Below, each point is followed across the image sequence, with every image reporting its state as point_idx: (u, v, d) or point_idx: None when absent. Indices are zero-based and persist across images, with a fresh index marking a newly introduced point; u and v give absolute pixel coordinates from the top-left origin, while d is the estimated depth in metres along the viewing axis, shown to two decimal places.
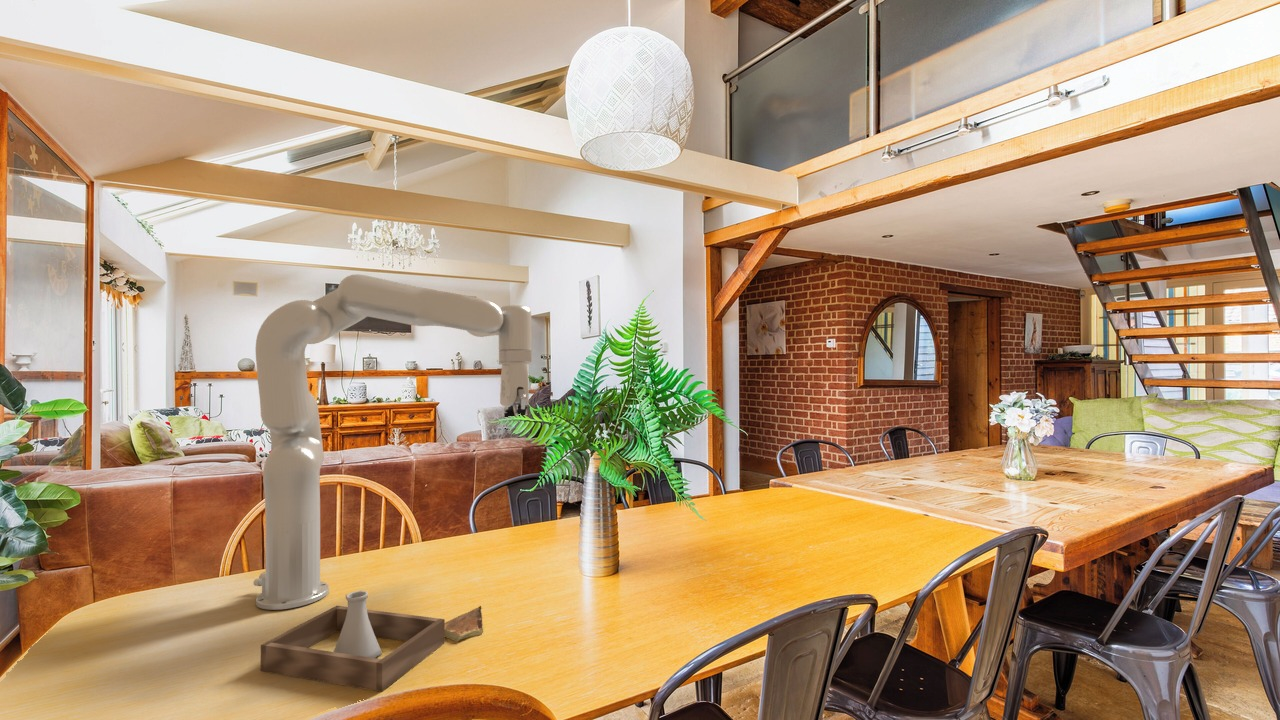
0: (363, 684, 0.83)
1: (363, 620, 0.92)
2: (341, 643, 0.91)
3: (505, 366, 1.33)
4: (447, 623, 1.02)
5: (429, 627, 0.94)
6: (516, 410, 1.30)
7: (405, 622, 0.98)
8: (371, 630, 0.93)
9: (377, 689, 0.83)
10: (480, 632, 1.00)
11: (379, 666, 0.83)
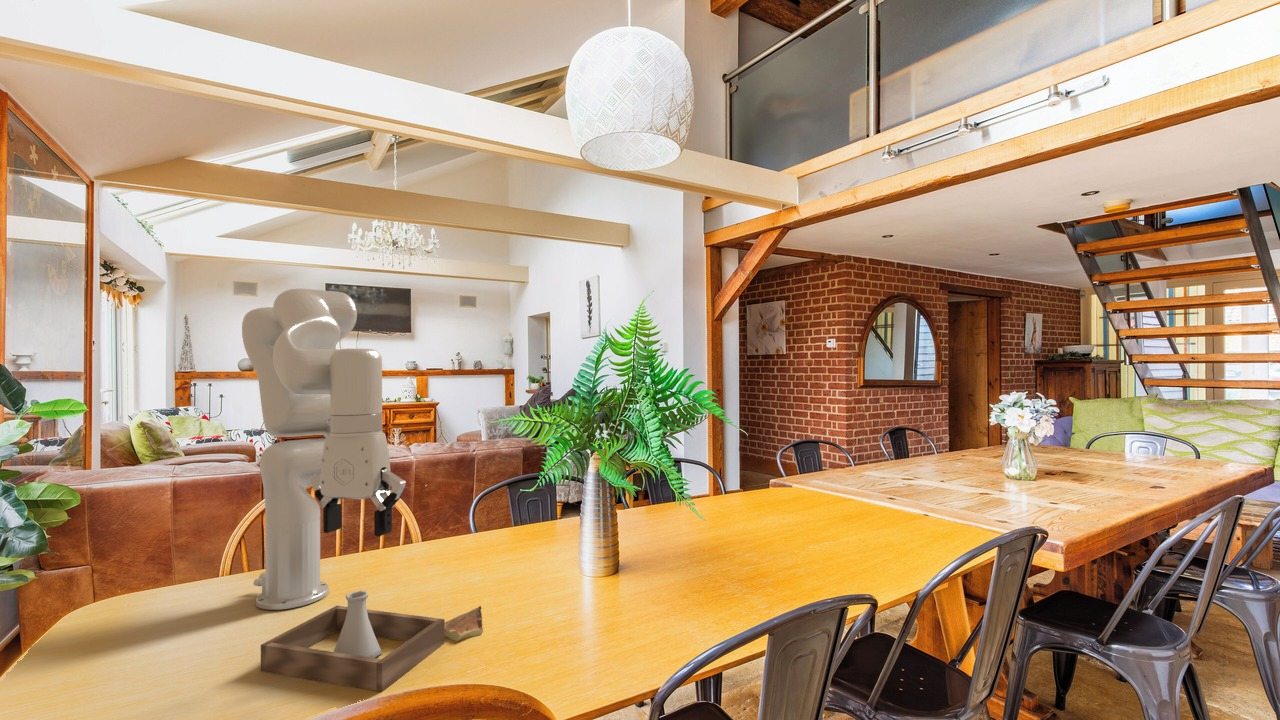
0: (363, 684, 0.83)
1: (363, 620, 0.92)
2: (341, 643, 0.91)
3: (352, 439, 0.90)
4: (447, 623, 1.02)
5: (429, 627, 0.94)
6: (383, 502, 0.90)
7: (405, 622, 0.98)
8: (371, 630, 0.93)
9: (377, 689, 0.83)
10: (480, 632, 1.00)
11: (379, 666, 0.83)
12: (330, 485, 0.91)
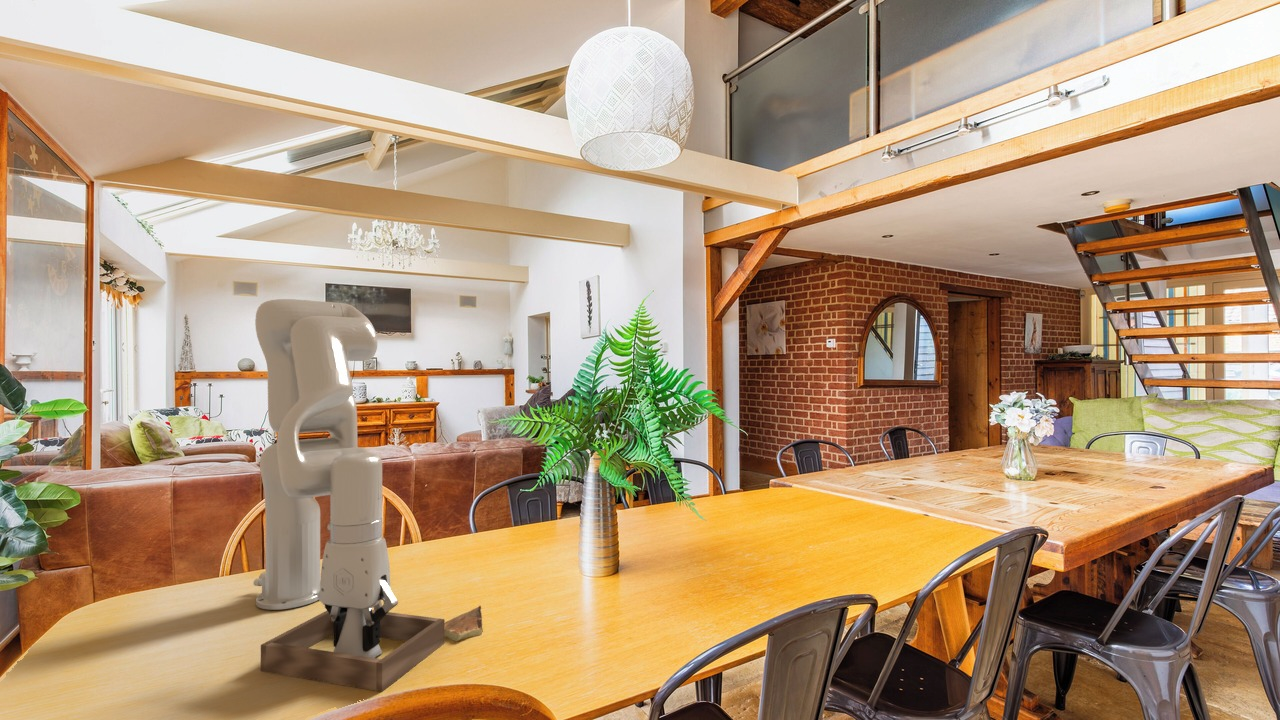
0: (363, 684, 0.83)
1: (363, 620, 0.92)
2: (341, 643, 0.91)
3: (352, 549, 0.90)
4: (447, 623, 1.02)
5: (429, 627, 0.94)
6: (372, 618, 0.91)
7: (405, 622, 0.98)
8: None
9: (377, 689, 0.83)
10: (480, 631, 1.00)
11: (379, 666, 0.83)
12: (330, 593, 0.91)
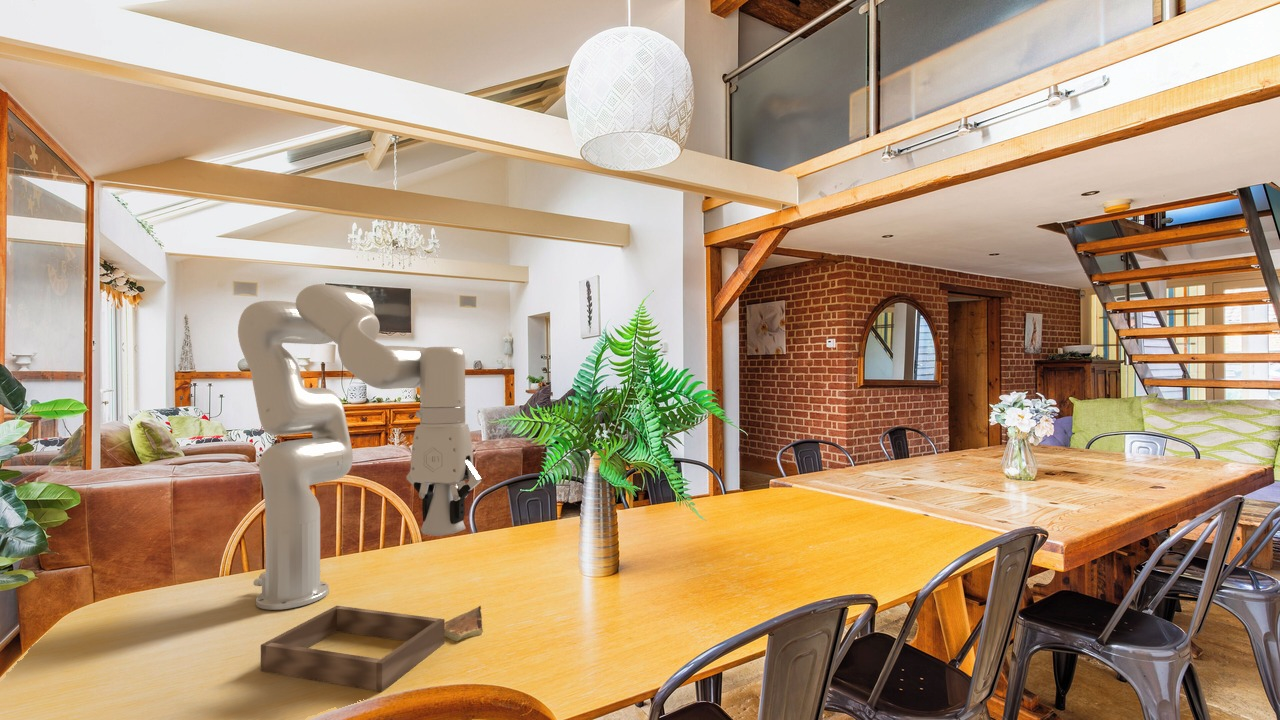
0: (363, 684, 0.83)
1: (449, 497, 1.01)
2: (430, 516, 0.99)
3: (441, 429, 0.99)
4: (447, 623, 1.02)
5: (429, 627, 0.94)
6: (459, 494, 0.99)
7: (405, 622, 0.98)
8: None
9: (377, 689, 0.83)
10: (480, 632, 1.00)
11: (379, 666, 0.83)
12: (420, 471, 1.00)
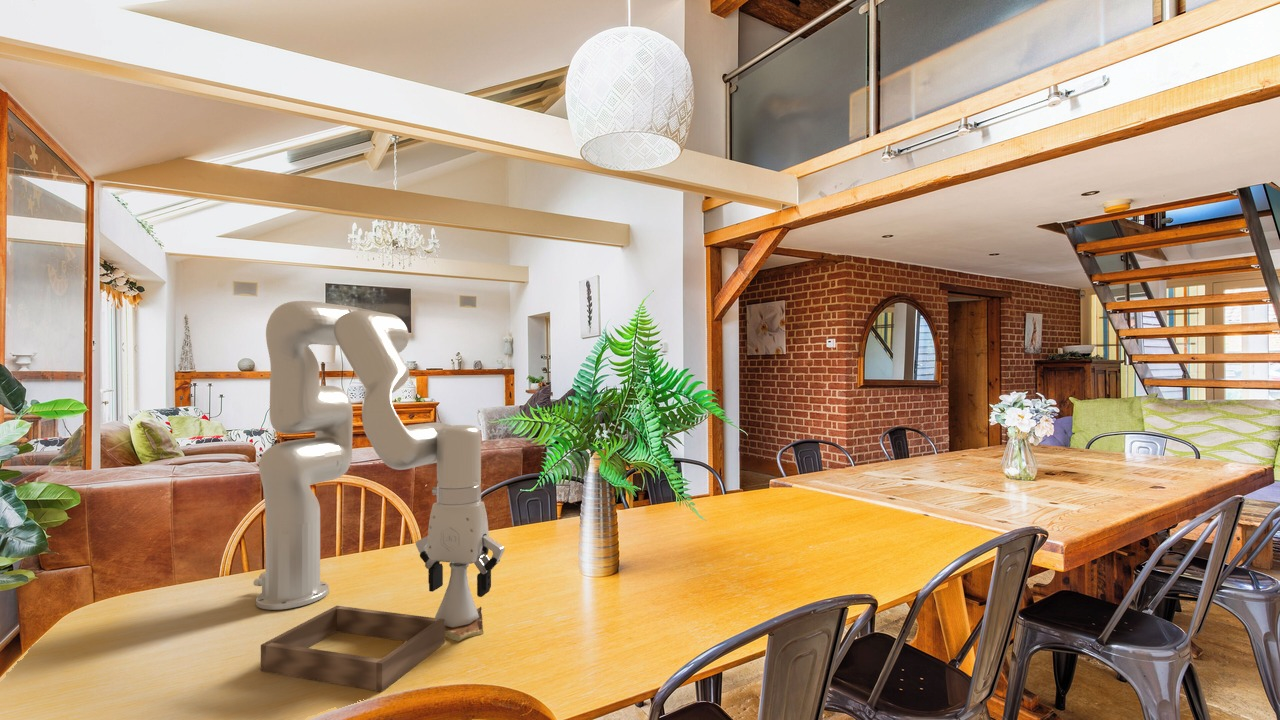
0: (363, 684, 0.83)
1: (464, 586, 1.03)
2: (446, 606, 1.01)
3: (458, 509, 1.00)
4: None
5: (429, 627, 0.94)
6: (484, 566, 1.01)
7: (405, 622, 0.98)
8: (470, 596, 1.03)
9: (377, 689, 0.83)
10: (480, 633, 1.00)
11: (379, 666, 0.83)
12: (437, 550, 1.01)
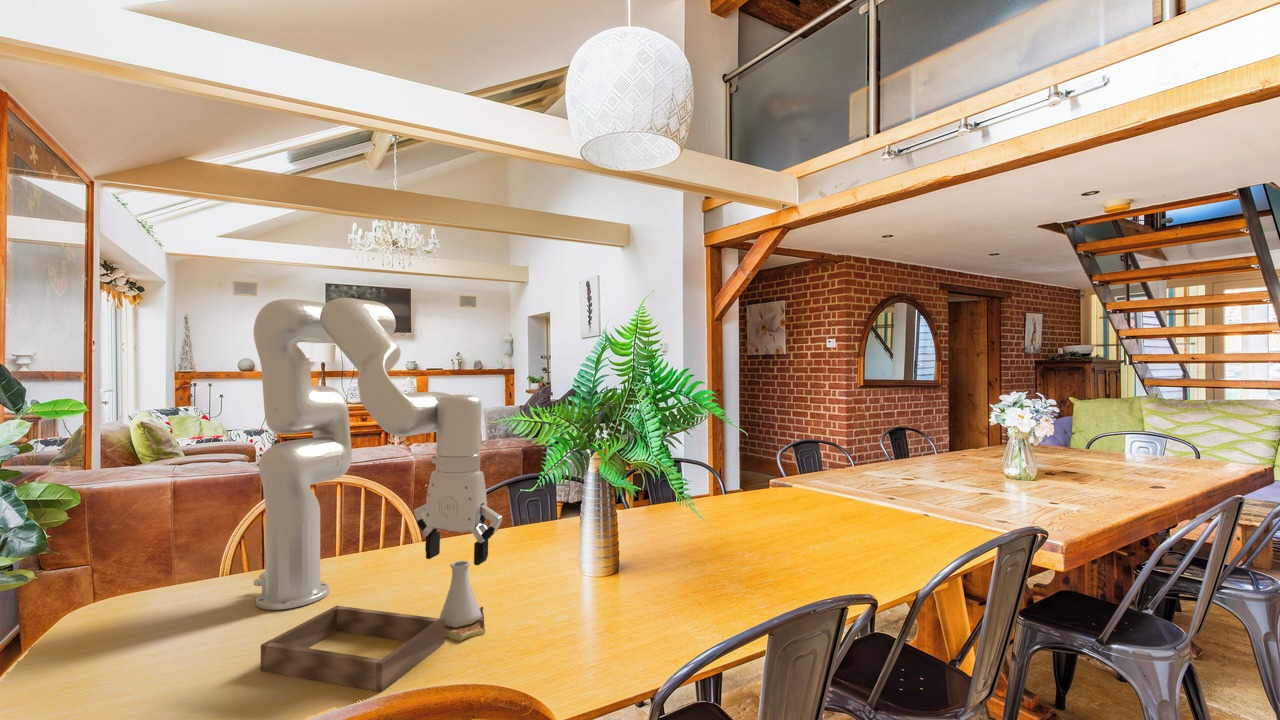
0: (363, 684, 0.83)
1: (466, 586, 1.03)
2: (448, 606, 1.01)
3: (457, 478, 1.00)
4: None
5: (429, 627, 0.94)
6: (482, 535, 1.01)
7: (405, 622, 0.98)
8: (473, 596, 1.03)
9: (377, 689, 0.83)
10: (482, 632, 1.00)
11: (379, 666, 0.83)
12: (435, 517, 1.01)
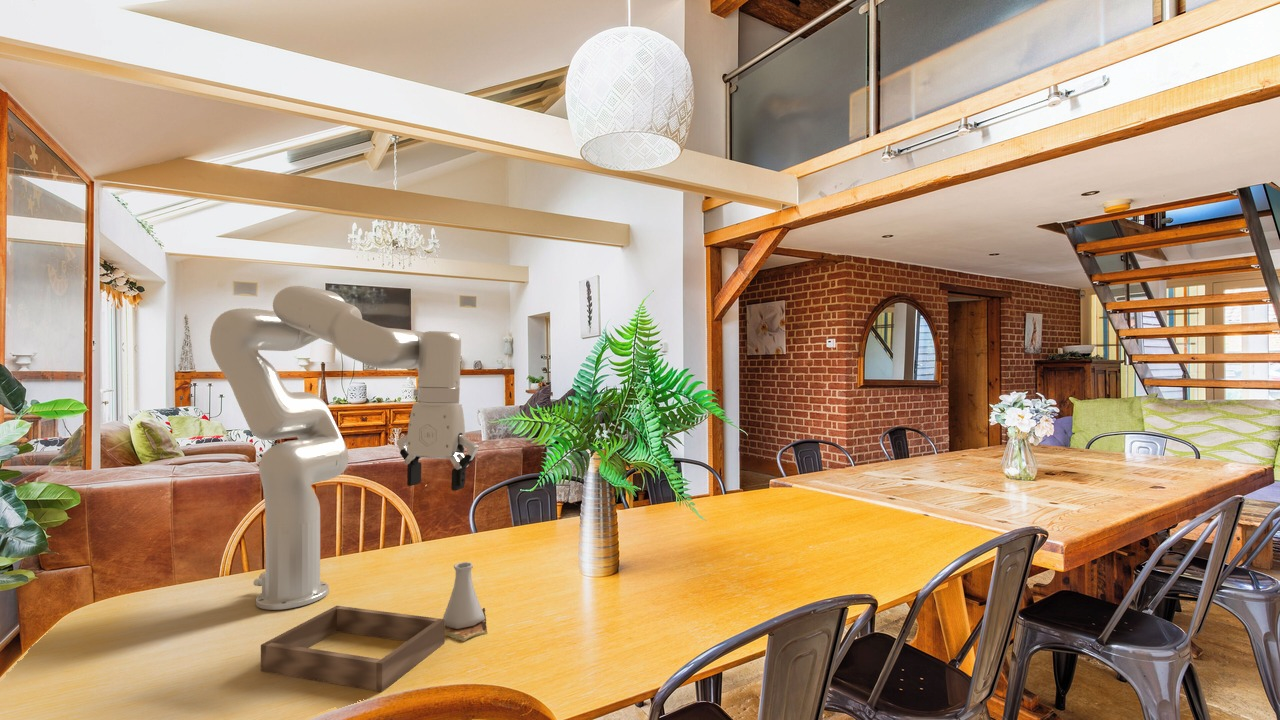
0: (363, 684, 0.83)
1: (469, 588, 1.03)
2: (451, 607, 1.02)
3: (436, 408, 1.07)
4: None
5: (429, 627, 0.94)
6: (459, 462, 1.07)
7: (405, 622, 0.98)
8: (476, 597, 1.03)
9: (377, 689, 0.83)
10: None
11: (379, 666, 0.83)
12: (415, 445, 1.08)
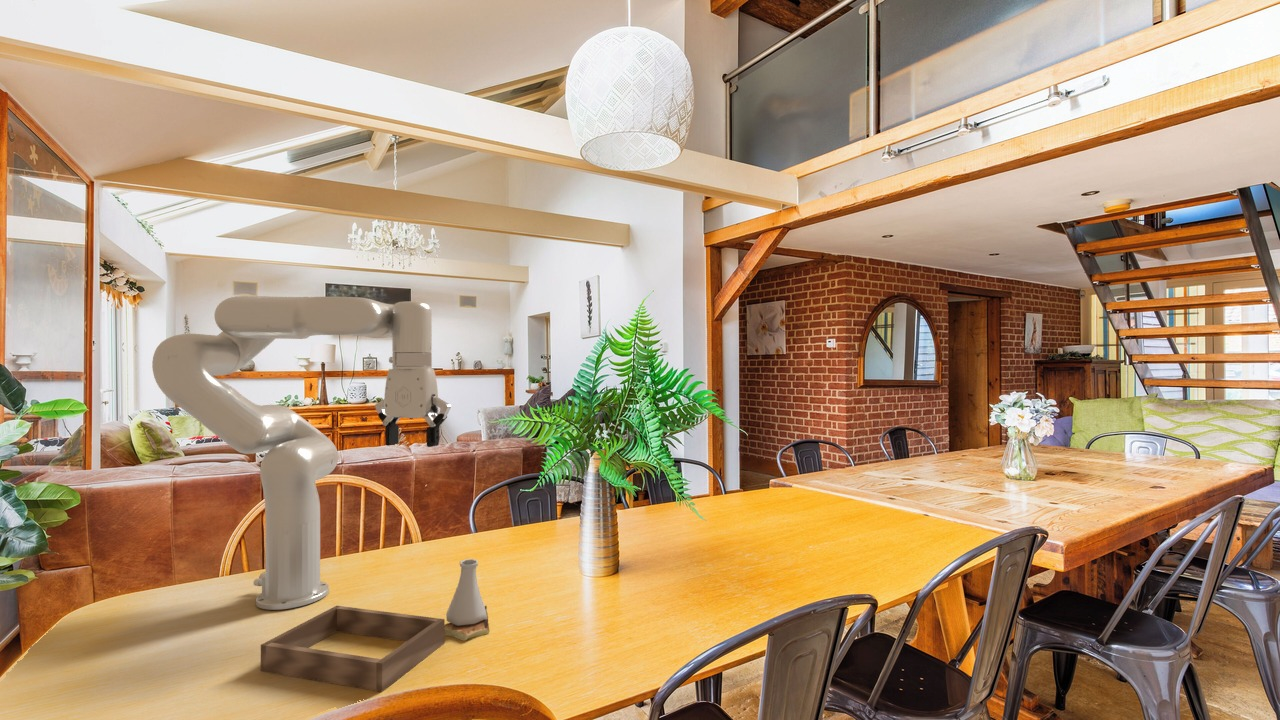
0: (363, 684, 0.83)
1: (472, 585, 1.03)
2: (454, 603, 1.02)
3: (410, 371, 1.16)
4: None
5: (429, 627, 0.94)
6: (433, 420, 1.16)
7: (405, 622, 0.98)
8: (479, 595, 1.03)
9: (377, 689, 0.83)
10: (486, 632, 1.00)
11: (379, 666, 0.83)
12: (392, 407, 1.17)
